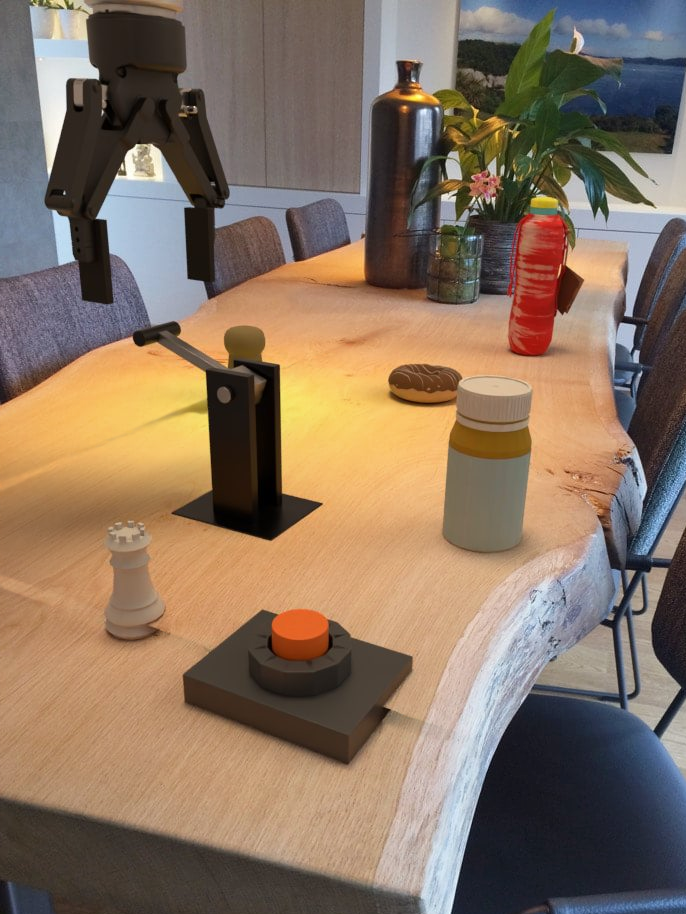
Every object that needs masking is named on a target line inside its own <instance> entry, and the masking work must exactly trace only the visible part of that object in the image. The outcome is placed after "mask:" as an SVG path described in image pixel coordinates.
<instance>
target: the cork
mask: <svg viewBox="0 0 686 914" xmlns="http://www.w3.org/2000/svg"><path fill="white" fill-rule="evenodd" d="M223 345H224V348H225V351H226V352H227V353H228V357H227V359H228V360H227V368H229V369H230V370H231V369H233V368H234V366H233V360H234V359H237V358H245V359H250V360H256V361H262V362H263V356H262V353H263V351H264V350H265V349H266V348H265V347H266V336H265V333H264V332H263V330H262V328H259V327H257V326H253V325H247V324H245V325H235V326H231V327H229V328H228V329H226V331H225V332H224V336H223Z"/></svg>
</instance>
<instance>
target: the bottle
mask: <svg viewBox="0 0 686 914" xmlns="http://www.w3.org/2000/svg"><path fill="white" fill-rule="evenodd" d="M533 392H534V391H533V386H532V385H531V384H530V382H528V381H525V380H523V379H519V378H516V377H511V376H504V375H496V374H495V375H494V374H481V375H472V376H466V377H463V378H462V380H460V381H459V384H458V389H457V396H456V410H455V421H454V423H453V426H452V428H451V430H450V433H449V435H448V436H449V437H448V448H447V460H446V461H447V462H446V463H447V464H446V474H445V490H444V503H443V515H442V516H443V517H442V529H441V531H442V536H443V538H444V539H445V540H446V542H448V543H450V544H451V545H453V546H455V547H457V548H459V549H461V550H465V551H468V552H472V553H473V552H474V553H480V554H481V553H482V554H493V553H496V554H497V553H502V552H503V553H504V552H506V551H510V550H512V549H514V548H516V547H517V546H518V545H519V544H520V543H521V541H522V536H523V526H524V516H525V509H526V500H527V493H528V492H527V491H528V483H529V482H528V481H529V473H530V466H531V458H532V457H531V455H532V446H533V445H532V444H533V442H532V440H533V439H532V436H531V432H530V427H529V423H530V417H531V416H530V414H531V411H532V410H531V409H532V401H533V394H534V393H533Z"/></svg>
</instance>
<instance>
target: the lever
mask: <svg viewBox="0 0 686 914" xmlns="http://www.w3.org/2000/svg"><path fill="white" fill-rule="evenodd" d="M181 333H182V329H181V325H180V323H178V322H177V321H175V320H173V321H168V322H164V323H160V324H157V325H153V326H149V327H146V328H141V329H138V330H135V331H134V332H133V333H132V341H133V343H134V345H135V346H137V347H139V348H143V347H147V346H149V345H152V344H156V343H157V344H159V345H160V346H162V347H163V348H166V349H167V350H169V351H170V352H172V353H173V354H174V355H177V356H179V357H180V358H182V359H183V360H185V361H187V362H188V363H190V364H191V365H192V366H195V367H196V368H198V369H200V370H201V371H202V372H204V373H206V369H209V368H212V367H214V368H219V369H225V370H230V369H229V368H228V366H225V365H224V364H222V363H221V362H219V361H218V360H216V359H214V358H213V357H211V356H210V355H207V354H206V353H205V352H203V351H201V350H199V349H197V348H196V347H194V346H192V345H191V344H189V343H188V342H187V341H184V340H183V339H181V338H180V337H179V336H180V335H181ZM230 371H236V372H242V373H247V374H253V375H254V382H255V405H256V404H258V403H260V401H261V397H262V394H263V391H264V388H265V385H266V382H267V380H266V379H264V378H263V377H261V376H259V375H258V374H256V373H254V372H253V371H251V370H250V369H248V368H246V367H245V366H243V365H241V366H239V367H236V368H233V369H231V370H230Z"/></svg>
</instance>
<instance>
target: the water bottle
mask: <svg viewBox="0 0 686 914" xmlns="http://www.w3.org/2000/svg"><path fill="white" fill-rule="evenodd" d="M558 208H559V199H558V198H554V197H550V196H536V197H532V198H531V199H530V210H529V212H528V213H527V214H526V216H523V217H522V218H521V219H520V221H519V222H518V224H517V226H516V228H515V231H514V235H513V240H512V246H511V253H510V263H509V274H508V275H509V278H510V282H509V284H508V285H507V286H508V287H507V291H506V293H507V294H506V296H507V297H508V298H512V302H511V308H510V313H509V320H508V329H507V330H508V331H507V341H508V344H509V347H510V350H511V351H512V352H513V353H515V354H519V355H523V356H541V355H543V354H545V353H546V352H547V351H548V349H549V347H550V345H551V342H552V339H553V332H554V327H555V317H557V315H558V312H559V313H560V315H561V316H564V314H565V313H566V314H567V315H568V314H569V312H570V309H571V308H572V306H573V304H574V302H575V300H576V298H577V296H578V294H579V292H580V290H581V288H582V286H583V284H584V283H585V278H583V277H581V275H579V274H577V273H576V272H575V271H574V270H573V269H571V268H570V267H569V266H567V262H568V261H567V260H568V255H569V254H568V253H569V246H570V234H571V232H572V229H571V228H569V227H568V225H567V224H566V222H565V220H564V219H563V218H562V217H561V216H560V214H559V213H558ZM515 244H516V245H515ZM514 251H515V252H514ZM513 257H514V259H513ZM513 286H514V287H513ZM512 290H513V291H512ZM512 292H513V293H512ZM512 294H513V295H512Z"/></svg>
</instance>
